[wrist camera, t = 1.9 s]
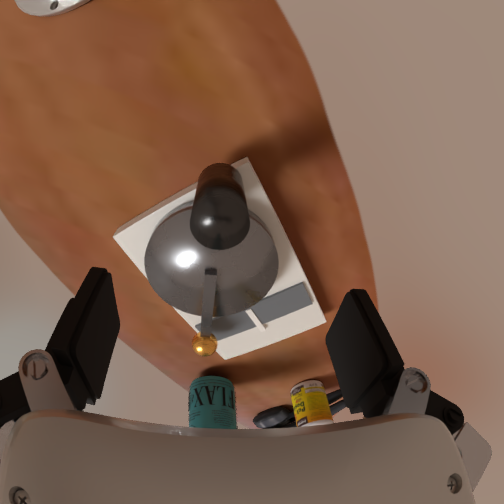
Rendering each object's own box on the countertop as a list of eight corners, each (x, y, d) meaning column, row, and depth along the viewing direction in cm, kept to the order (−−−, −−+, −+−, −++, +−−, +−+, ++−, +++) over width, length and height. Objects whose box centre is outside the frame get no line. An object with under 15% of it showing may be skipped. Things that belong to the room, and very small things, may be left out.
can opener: (265, 422, 51) (268, 446, 46) (248, 412, 47) (251, 439, 42) (348, 394, 47) (356, 418, 43) (340, 381, 44) (349, 408, 39)
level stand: (117, 228, 24) (111, 239, 22) (247, 156, 22) (249, 163, 20) (224, 350, 35) (225, 362, 33) (322, 312, 32) (327, 324, 31)
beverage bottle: (241, 370, 38) (255, 508, 21) (225, 390, 41) (234, 512, 24) (195, 361, 36) (196, 508, 19) (184, 384, 39) (183, 510, 22)
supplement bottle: (296, 378, 41) (308, 438, 32) (328, 377, 42) (344, 433, 33) (285, 395, 44) (295, 449, 35) (315, 394, 45) (327, 445, 36)
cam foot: (147, 154, 19) (118, 188, 13) (297, 170, 21) (325, 209, 15) (154, 331, 29) (146, 383, 24) (254, 338, 31) (261, 390, 25)
